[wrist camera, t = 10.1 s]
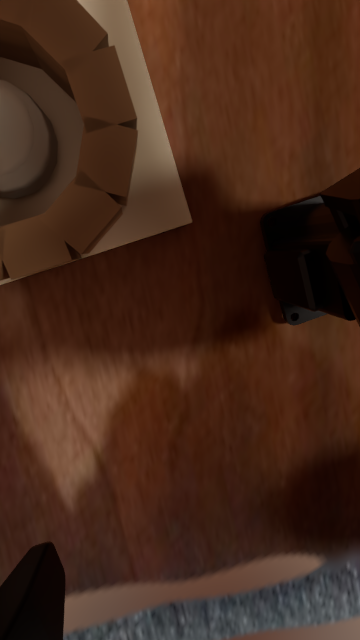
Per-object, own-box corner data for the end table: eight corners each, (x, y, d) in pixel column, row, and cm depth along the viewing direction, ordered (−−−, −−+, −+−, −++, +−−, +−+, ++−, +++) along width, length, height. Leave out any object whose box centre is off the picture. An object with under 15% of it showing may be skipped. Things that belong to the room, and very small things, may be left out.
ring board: (117, -15, 16) (113, -107, 12) (188, 223, 18) (205, 216, 14) (-196, 69, 15) (-321, 0, 11) (-73, 308, 17) (-135, 327, 13)
